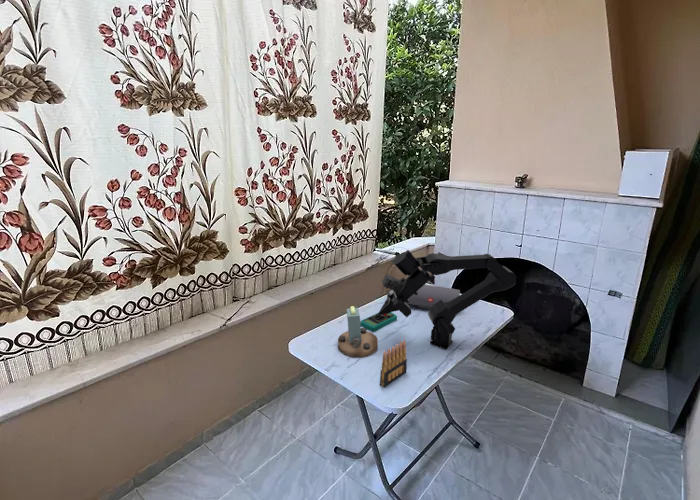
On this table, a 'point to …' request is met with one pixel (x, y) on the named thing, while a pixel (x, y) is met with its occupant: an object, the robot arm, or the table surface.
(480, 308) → the table surface
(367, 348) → the levelling base
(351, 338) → the post
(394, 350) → the ammunition clip
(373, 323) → the digital multimeter
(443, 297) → the bluetooth speaker
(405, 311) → the robot arm
